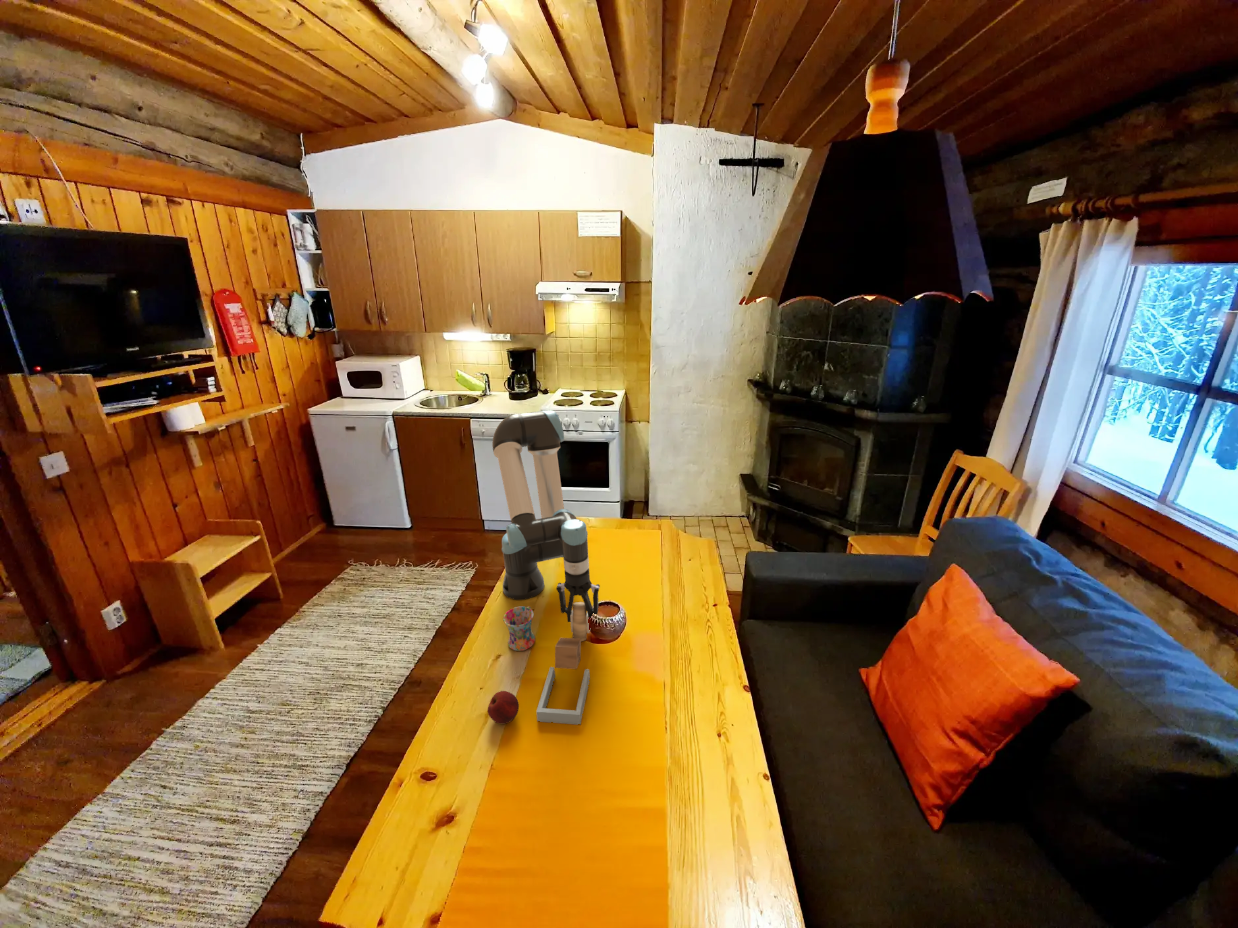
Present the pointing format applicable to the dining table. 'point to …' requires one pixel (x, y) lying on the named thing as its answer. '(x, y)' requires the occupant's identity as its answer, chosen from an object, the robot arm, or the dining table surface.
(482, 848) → the dining table surface
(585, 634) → the tethered block
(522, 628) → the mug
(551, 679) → the grey u-shaped frame
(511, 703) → the apple
